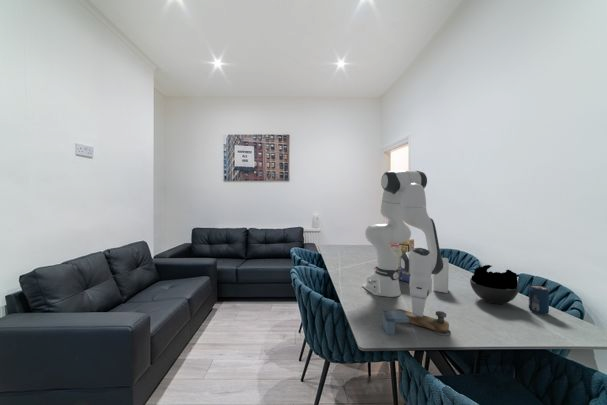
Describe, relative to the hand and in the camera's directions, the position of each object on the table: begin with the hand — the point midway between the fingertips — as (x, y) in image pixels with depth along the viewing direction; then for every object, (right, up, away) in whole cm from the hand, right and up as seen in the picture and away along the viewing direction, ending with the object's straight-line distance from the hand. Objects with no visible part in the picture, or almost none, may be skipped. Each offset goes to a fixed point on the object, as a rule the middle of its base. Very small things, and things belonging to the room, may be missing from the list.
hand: (420, 317), depth 109 cm
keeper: (-13, -2, -7) cm, 15 cm away
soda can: (+60, -2, +8) cm, 60 cm away
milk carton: (+29, -1, +37) cm, 47 cm away
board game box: (+11, -1, +58) cm, 59 cm away
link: (-1, -1, -3) cm, 4 cm away
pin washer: (+5, -2, -8) cm, 9 cm away
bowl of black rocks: (+47, -1, +20) cm, 51 cm away
